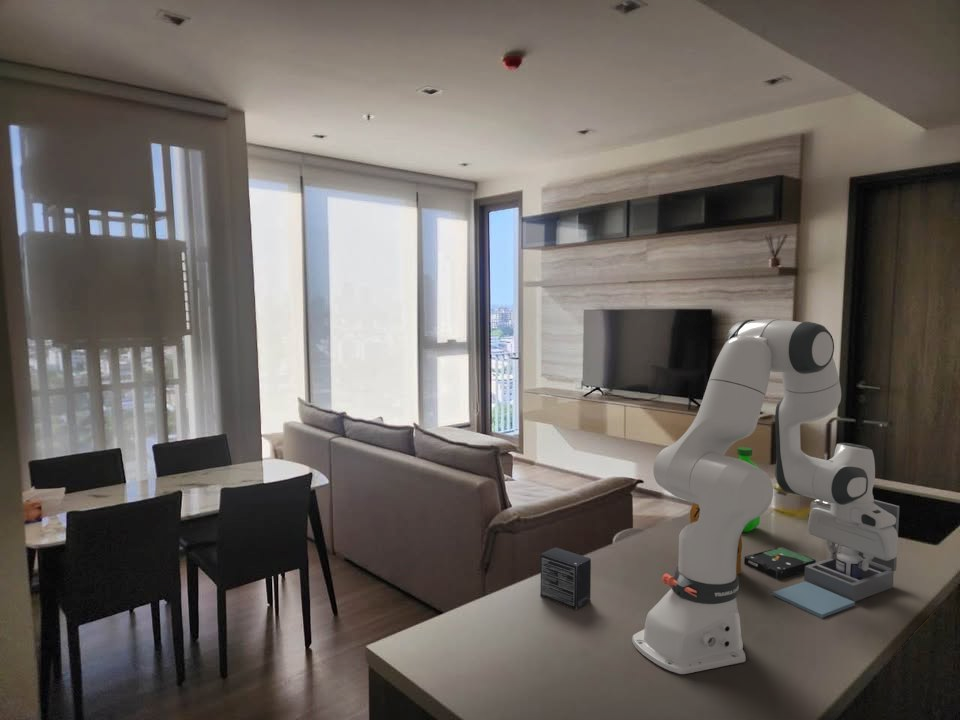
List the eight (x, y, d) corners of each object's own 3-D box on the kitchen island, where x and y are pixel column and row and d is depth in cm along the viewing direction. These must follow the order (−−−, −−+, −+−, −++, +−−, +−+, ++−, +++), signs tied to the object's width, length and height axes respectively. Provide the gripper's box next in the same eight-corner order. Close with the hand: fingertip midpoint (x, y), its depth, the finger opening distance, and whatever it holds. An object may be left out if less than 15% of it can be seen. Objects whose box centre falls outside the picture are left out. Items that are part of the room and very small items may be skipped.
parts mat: (821, 618, 132) (821, 614, 132) (772, 595, 143) (773, 592, 143) (854, 605, 138) (854, 602, 138) (805, 584, 149) (805, 581, 149)
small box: (592, 601, 141) (592, 557, 140) (576, 611, 136) (576, 566, 136) (555, 587, 148) (555, 545, 148) (539, 596, 144) (539, 553, 143)
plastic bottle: (760, 525, 189) (762, 446, 187) (760, 536, 179) (763, 454, 177) (725, 520, 193) (727, 443, 191) (724, 532, 183) (726, 451, 181)
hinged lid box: (852, 602, 139) (856, 517, 138) (800, 580, 151) (803, 501, 149) (895, 586, 147) (899, 506, 145) (842, 566, 159) (845, 491, 157)
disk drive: (777, 582, 151) (816, 569, 158) (777, 571, 151) (816, 559, 158) (743, 566, 161) (781, 555, 167) (743, 556, 160) (781, 545, 167)
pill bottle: (861, 582, 149) (863, 544, 148) (861, 591, 145) (862, 552, 144) (835, 577, 152) (837, 540, 151) (834, 586, 147) (836, 547, 147)
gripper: (803, 499, 154) (801, 551, 156) (887, 524, 136) (884, 583, 138) (818, 495, 157) (816, 547, 159) (903, 519, 139) (900, 577, 140)
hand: (848, 564), depth 148 cm, fingers closed on pill bottle, 5 cm apart
